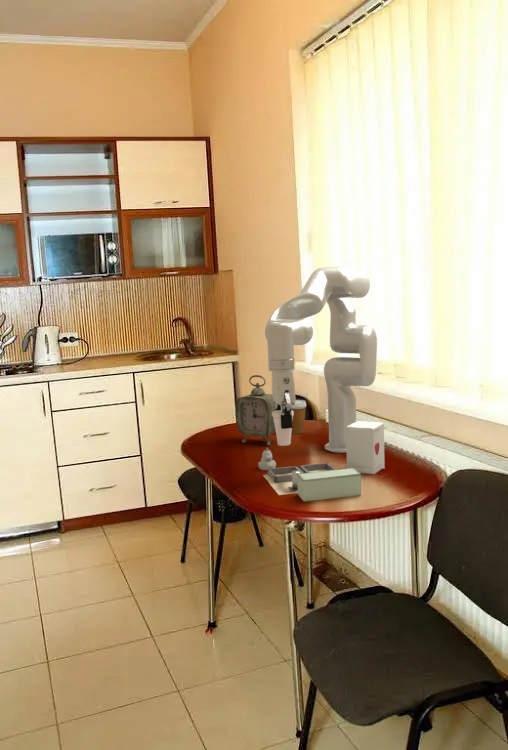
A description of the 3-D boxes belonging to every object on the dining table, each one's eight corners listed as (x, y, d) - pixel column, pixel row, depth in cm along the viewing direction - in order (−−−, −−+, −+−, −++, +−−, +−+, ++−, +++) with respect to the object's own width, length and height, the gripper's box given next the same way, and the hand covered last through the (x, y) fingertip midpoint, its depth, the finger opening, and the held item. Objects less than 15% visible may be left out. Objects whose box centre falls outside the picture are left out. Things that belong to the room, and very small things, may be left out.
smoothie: (293, 446, 203) (291, 399, 201) (271, 446, 204) (269, 399, 202) (296, 441, 209) (294, 395, 207) (275, 441, 210) (273, 395, 209)
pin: (299, 487, 198) (299, 470, 197) (302, 489, 196) (301, 472, 195) (291, 488, 198) (290, 470, 197) (293, 490, 195) (292, 473, 195)
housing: (353, 492, 195) (353, 467, 194) (361, 498, 189) (360, 473, 188) (298, 498, 192) (297, 473, 191) (304, 505, 186) (303, 480, 185)
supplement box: (374, 478, 207) (373, 428, 205) (346, 475, 212) (344, 426, 210) (385, 470, 215) (384, 422, 213) (358, 467, 220) (357, 420, 217)
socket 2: (328, 468, 215) (328, 462, 215) (337, 476, 207) (337, 470, 207) (300, 471, 214) (299, 465, 213) (308, 479, 205) (308, 473, 205)
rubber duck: (263, 475, 216) (262, 450, 214) (255, 470, 222) (254, 445, 220) (279, 472, 217) (278, 447, 216) (271, 467, 224) (270, 443, 222)
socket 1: (296, 471, 214) (296, 465, 213) (304, 479, 205) (304, 473, 205) (268, 474, 212) (267, 468, 212) (274, 483, 203) (274, 476, 203)
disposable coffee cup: (308, 434, 266) (307, 403, 264) (283, 435, 266) (281, 404, 264) (306, 429, 275) (305, 398, 273) (282, 430, 275) (281, 400, 273)
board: (333, 471, 216) (332, 467, 216) (355, 490, 197) (355, 485, 196) (263, 479, 212) (262, 474, 211) (279, 499, 192) (278, 494, 192)
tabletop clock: (237, 443, 257) (233, 376, 253) (251, 438, 264) (247, 372, 261) (270, 447, 249) (267, 377, 245) (284, 441, 256) (281, 374, 253)
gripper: (302, 367, 196) (304, 430, 198) (286, 360, 213) (288, 419, 215) (275, 369, 194) (278, 433, 197) (262, 362, 211) (264, 421, 214)
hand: (283, 425), depth 206 cm, fingers closed on smoothie, 6 cm apart
